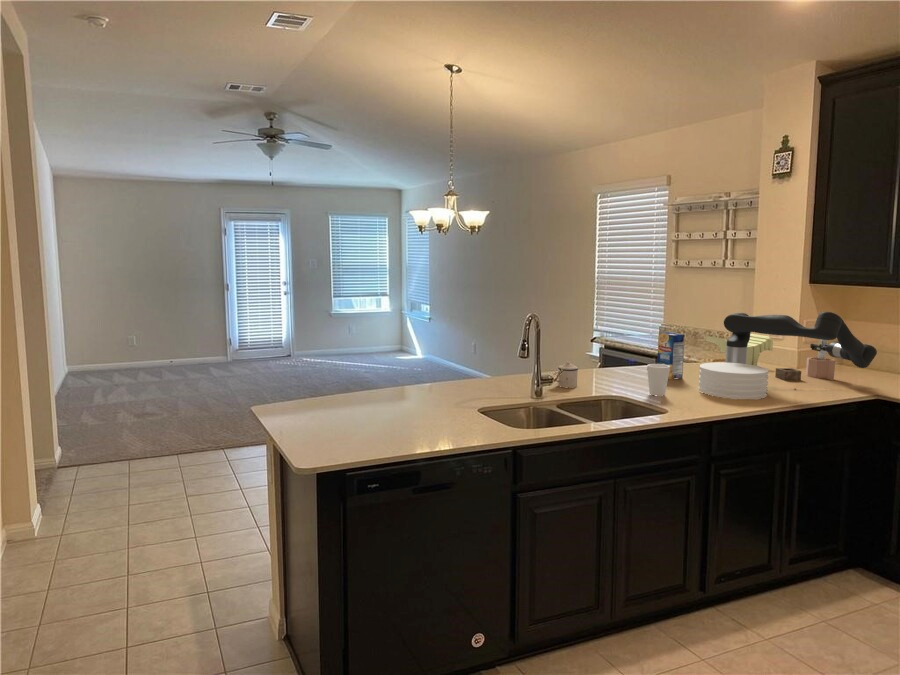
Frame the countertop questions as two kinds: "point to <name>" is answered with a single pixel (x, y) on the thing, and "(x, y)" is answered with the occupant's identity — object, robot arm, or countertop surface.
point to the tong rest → (788, 374)
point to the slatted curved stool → (753, 348)
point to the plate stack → (733, 380)
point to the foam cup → (658, 378)
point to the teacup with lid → (567, 375)
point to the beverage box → (671, 352)
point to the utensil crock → (820, 368)
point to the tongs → (821, 353)
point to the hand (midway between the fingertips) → (819, 345)
